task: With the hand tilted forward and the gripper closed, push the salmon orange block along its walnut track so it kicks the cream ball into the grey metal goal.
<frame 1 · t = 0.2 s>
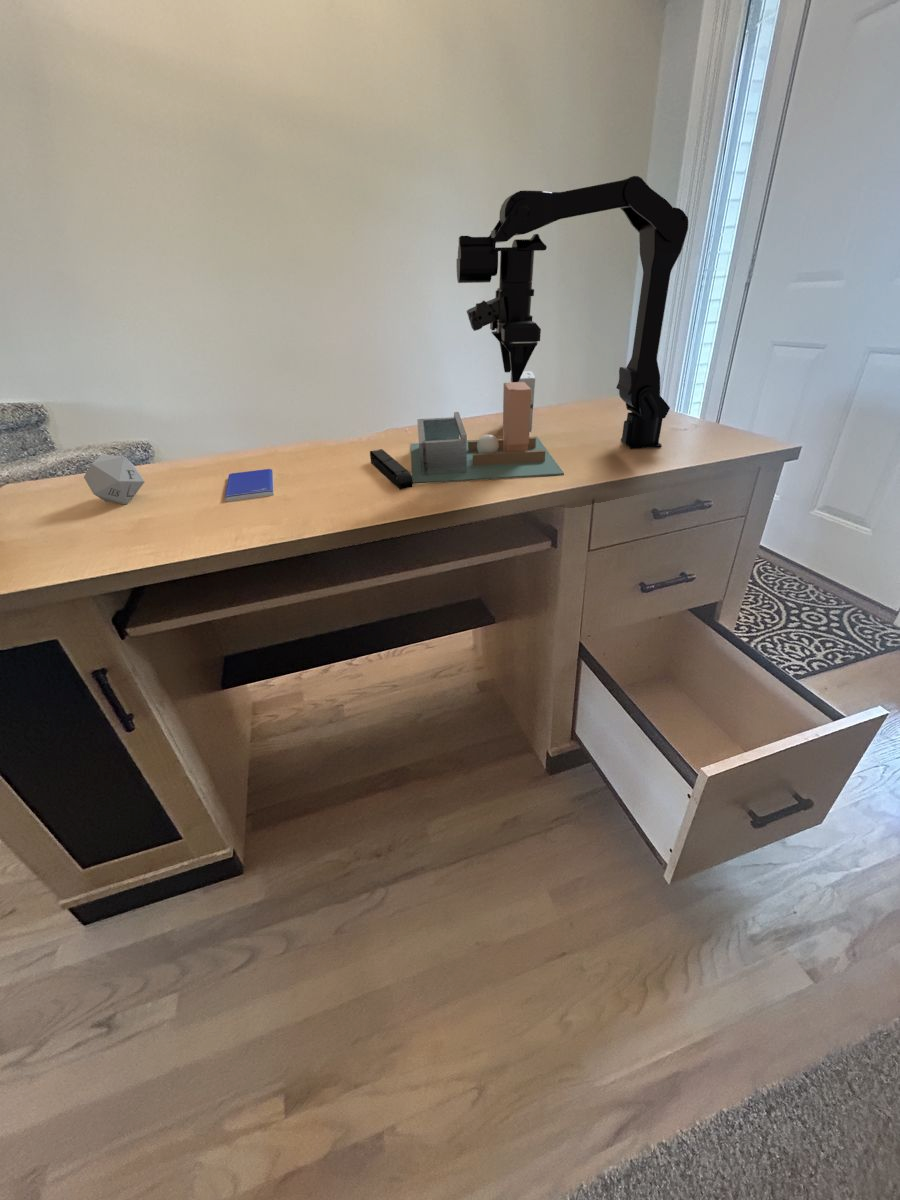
hand: (511, 377, 101), 15 cm above the table, tool pointing down, fingers open, 9 cm apart
salmon orange block: (516, 421, 103), point 7 cm above the table, slide at 0.0 cm
die: (123, 500, 95), on the table
portable electronic device stand: (390, 476, 101), on the table
ball: (487, 445, 106), point 2 cm above the table, touching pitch
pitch: (480, 458, 107), on the table
goal: (441, 460, 107), resting on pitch
ink box: (520, 428, 125), on the table
hard drive: (251, 490, 99), on the table
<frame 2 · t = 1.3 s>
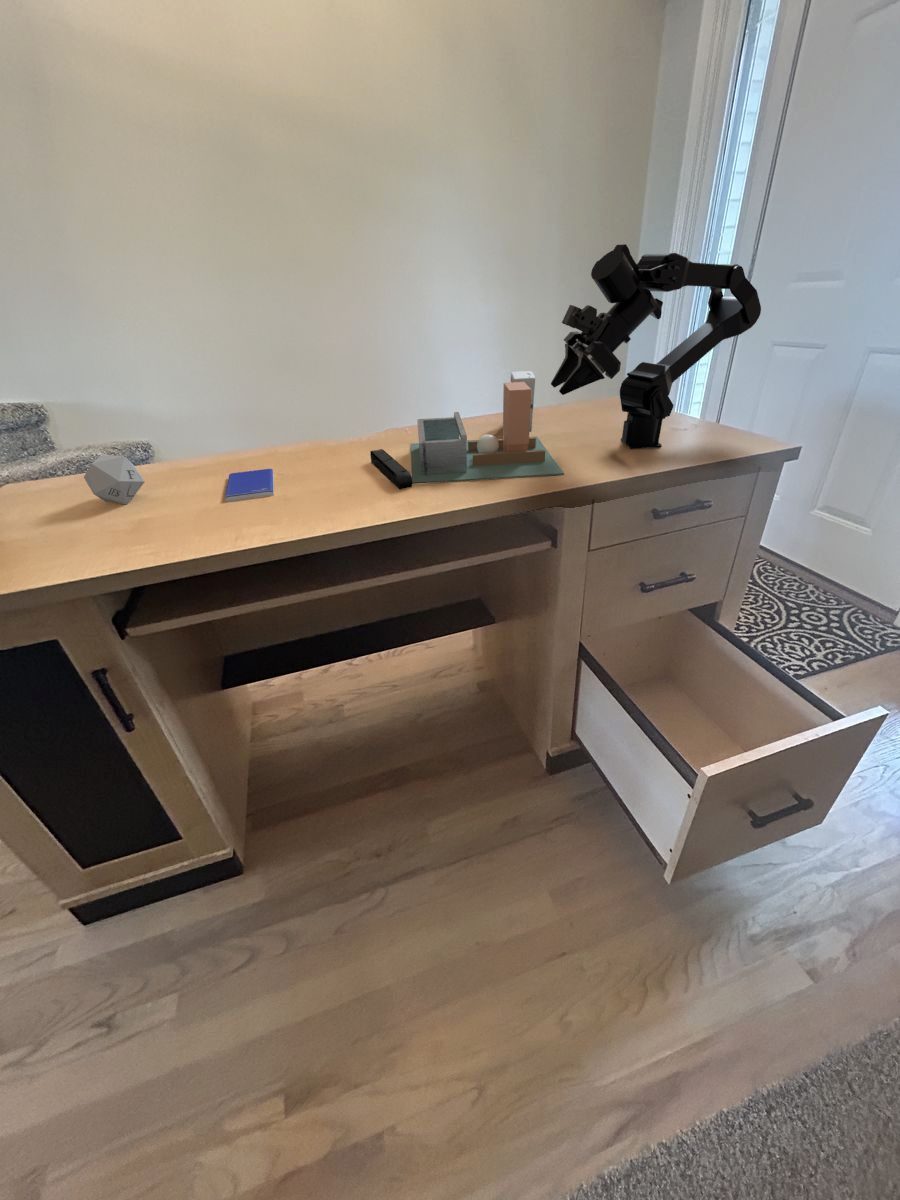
hand: (556, 389, 101), 12 cm above the table, tool tilted 45°, fingers open, 6 cm apart
nothing on the table moved.
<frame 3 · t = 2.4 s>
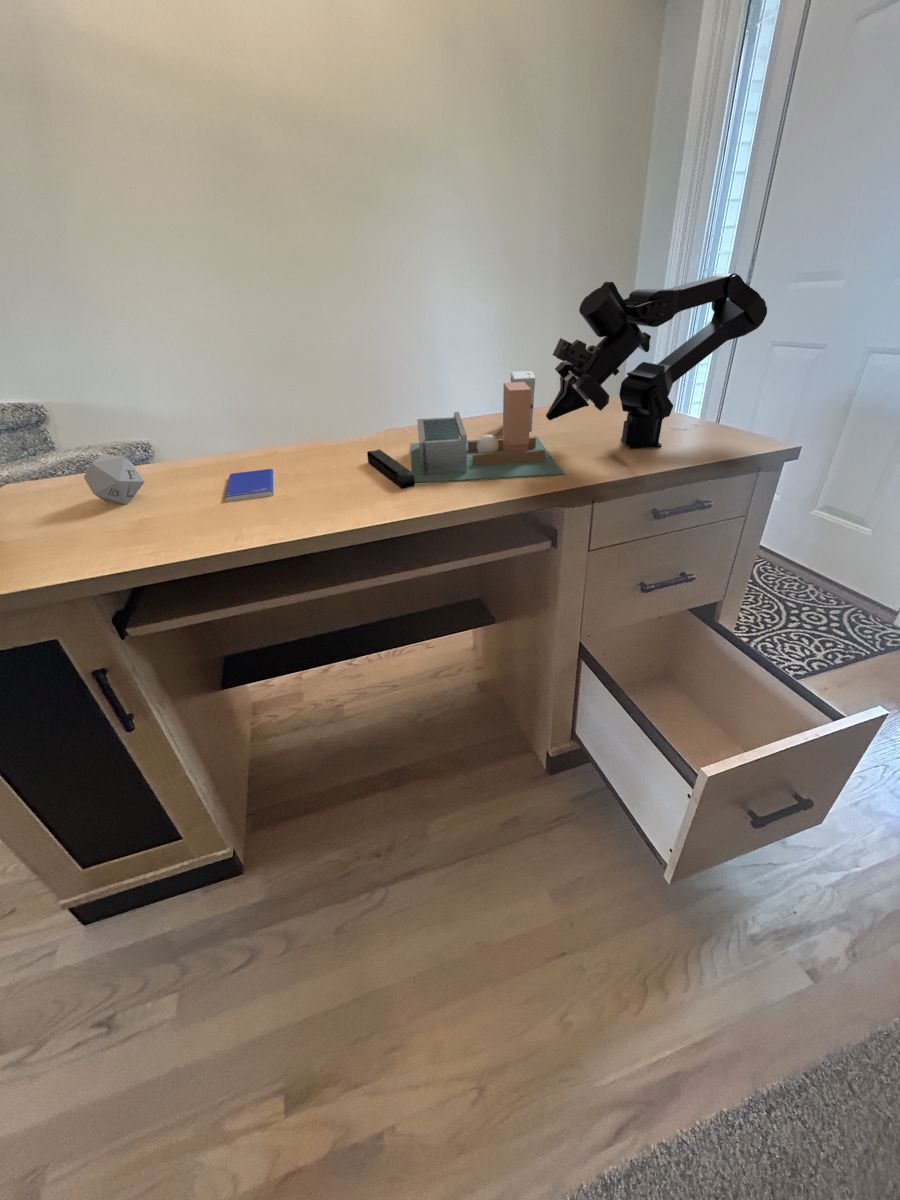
hand: (547, 418, 103), 7 cm above the table, tool tilted 45°, fingers closed
nothing on the table moved.
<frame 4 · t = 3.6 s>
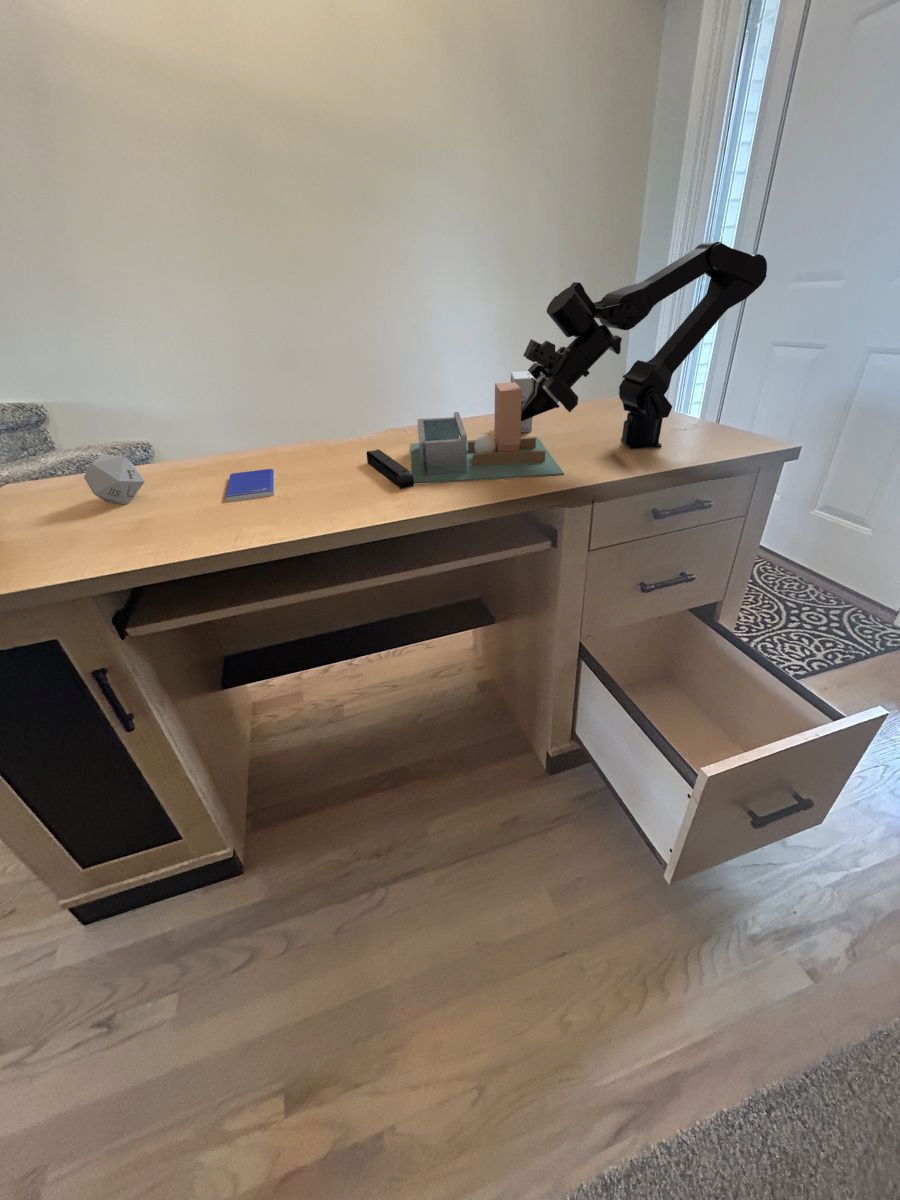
hand: (519, 419, 103), 7 cm above the table, tool tilted 45°, fingers closed, pressing on salmon orange block
salmon orange block: (507, 421, 103), point 7 cm above the table, slide at 1.7 cm, touching gripper
ball: (485, 445, 106), point 2 cm above the table, tilted 10°, touching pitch
everything else where it was.
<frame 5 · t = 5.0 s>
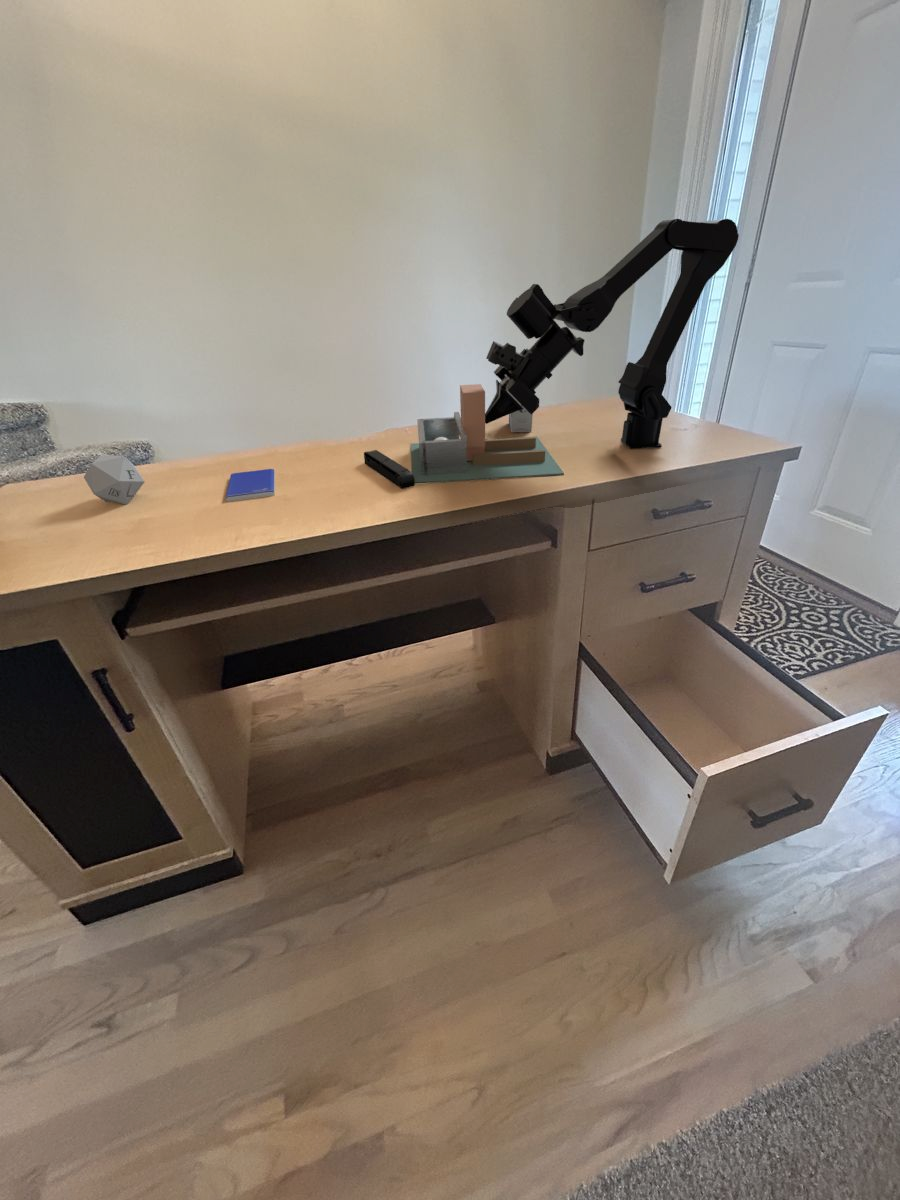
hand: (484, 421, 103), 7 cm above the table, tool tilted 45°, fingers closed, pressing on salmon orange block
salmon orange block: (472, 423, 103), point 7 cm above the table, slide at 8.5 cm, touching goal, gripper
ball: (441, 448, 105), point 2 cm above the table, tilted 122°, touching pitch
everything else where it was.
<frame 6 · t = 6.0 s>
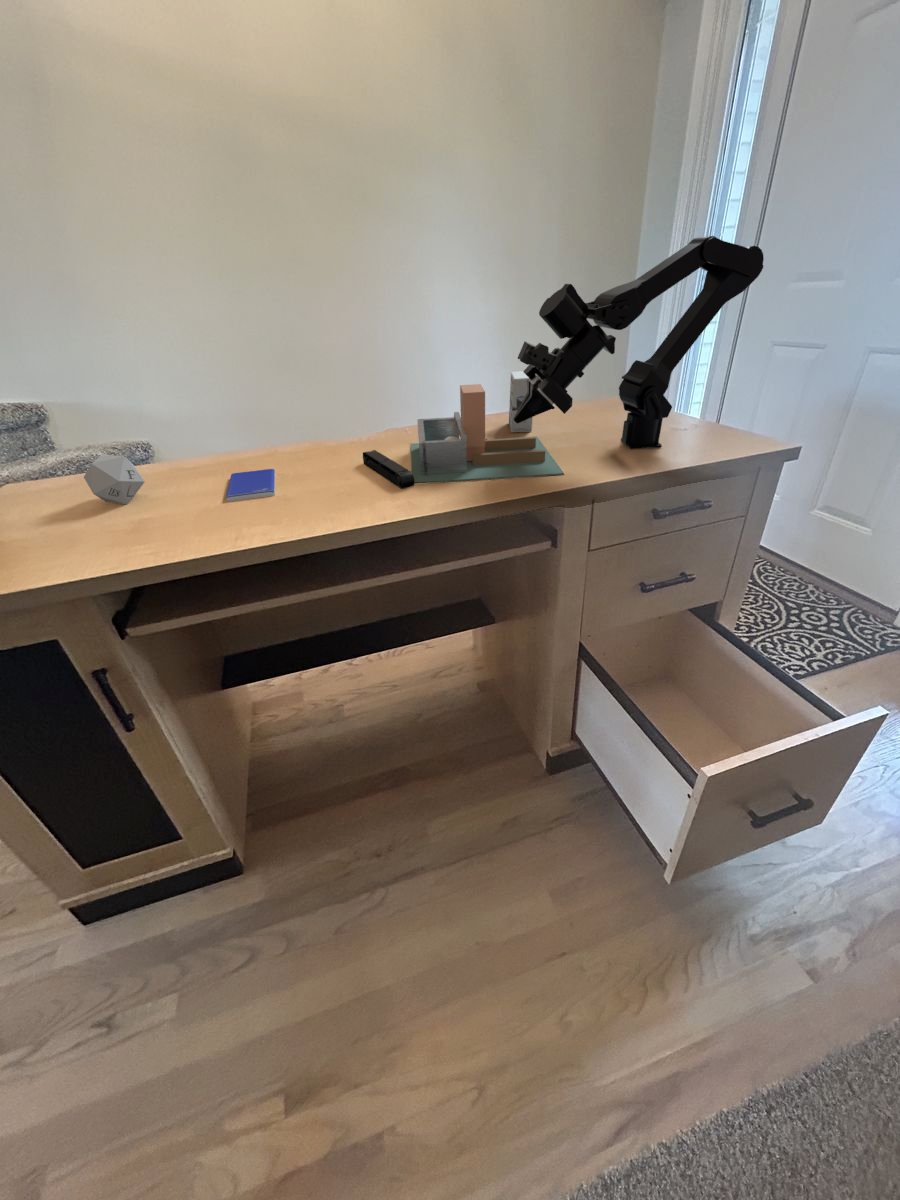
hand: (515, 421, 103), 7 cm above the table, tool tilted 45°, fingers closed
salmon orange block: (472, 423, 103), point 7 cm above the table, slide at 8.5 cm, touching goal
ball: (452, 447, 105), point 2 cm above the table, tilted 175°, touching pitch
everything else where it was.
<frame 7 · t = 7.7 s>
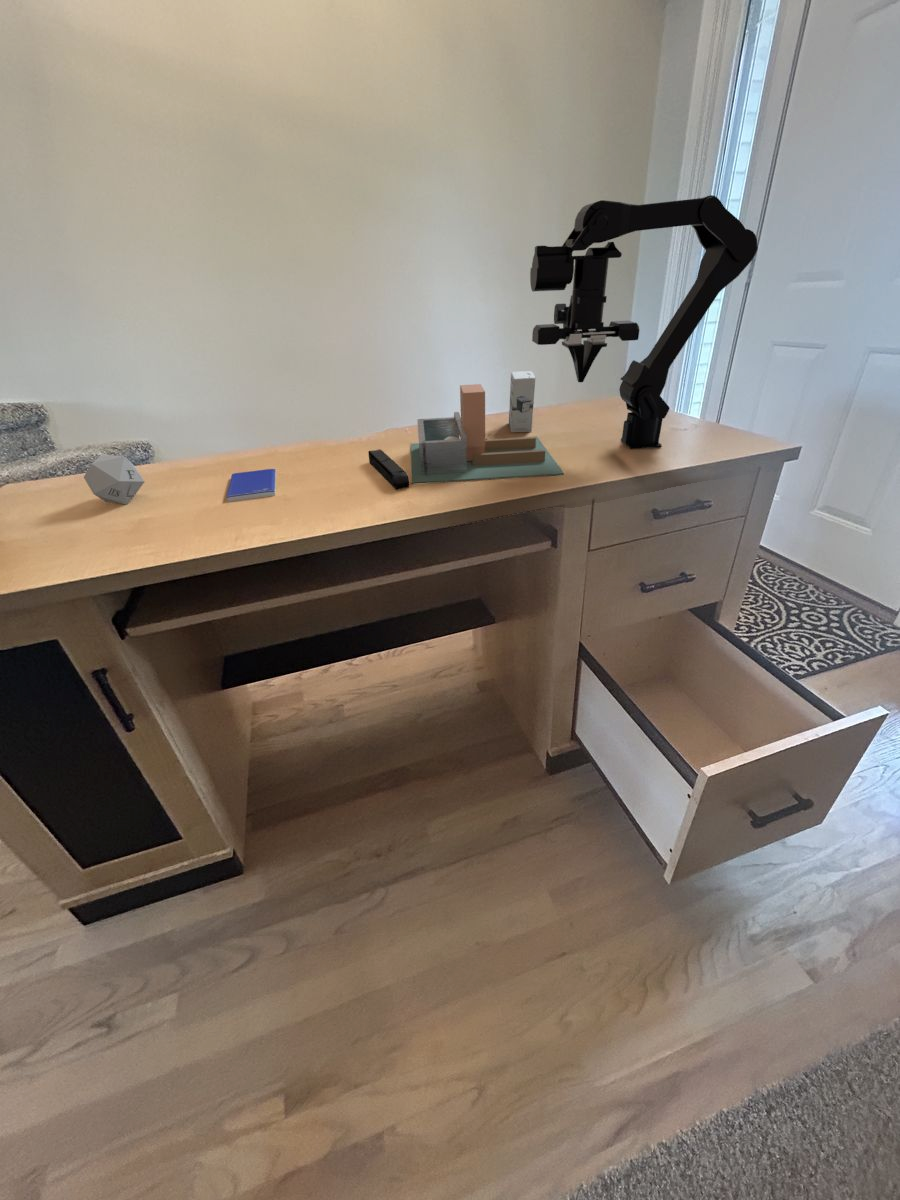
hand: (580, 382, 103), 13 cm above the table, tool pointing down, fingers closed
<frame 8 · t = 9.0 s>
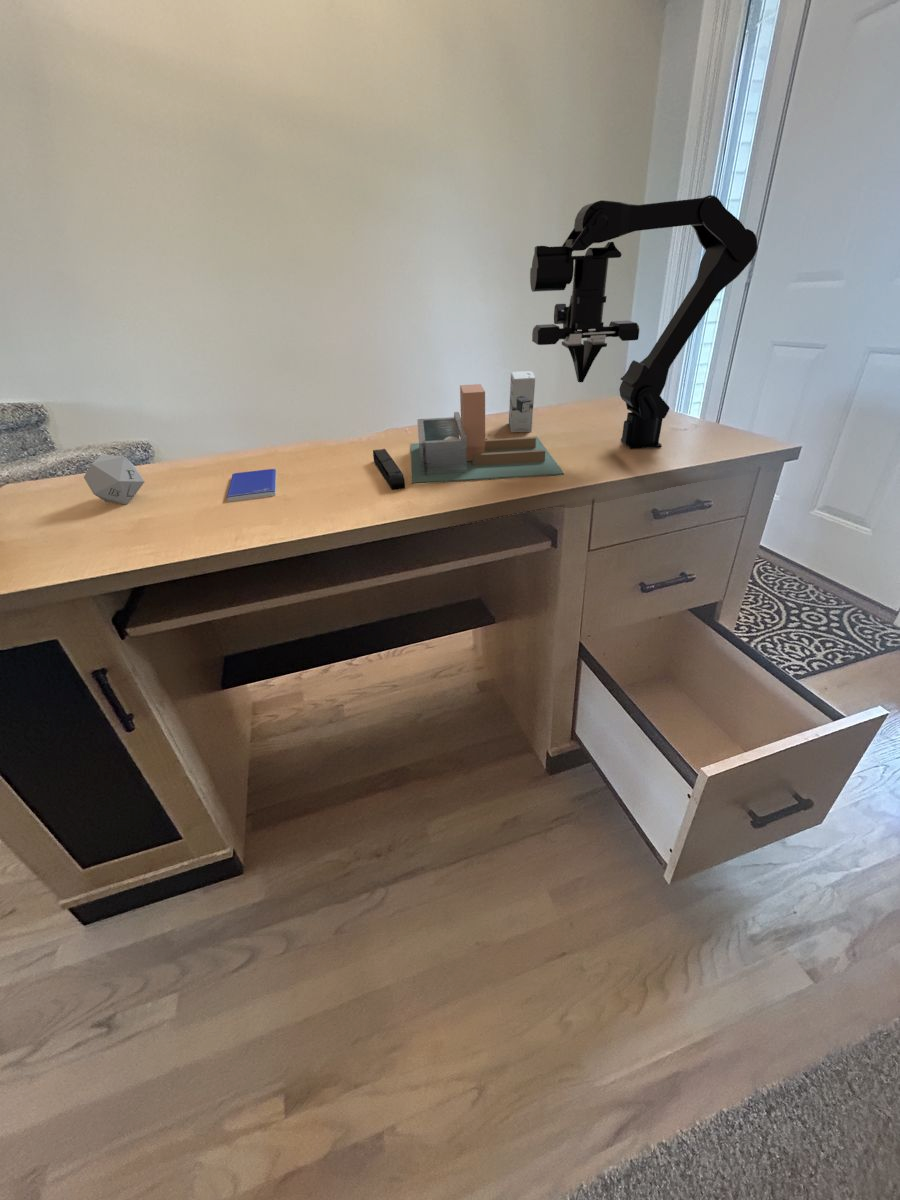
hand: (580, 382, 103), 13 cm above the table, tool pointing down, fingers closed
at the end: ball inside the target area (2.0 cm from its centre), point 2.5 cm above the table; salmon orange block slide at 8.5 cm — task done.
